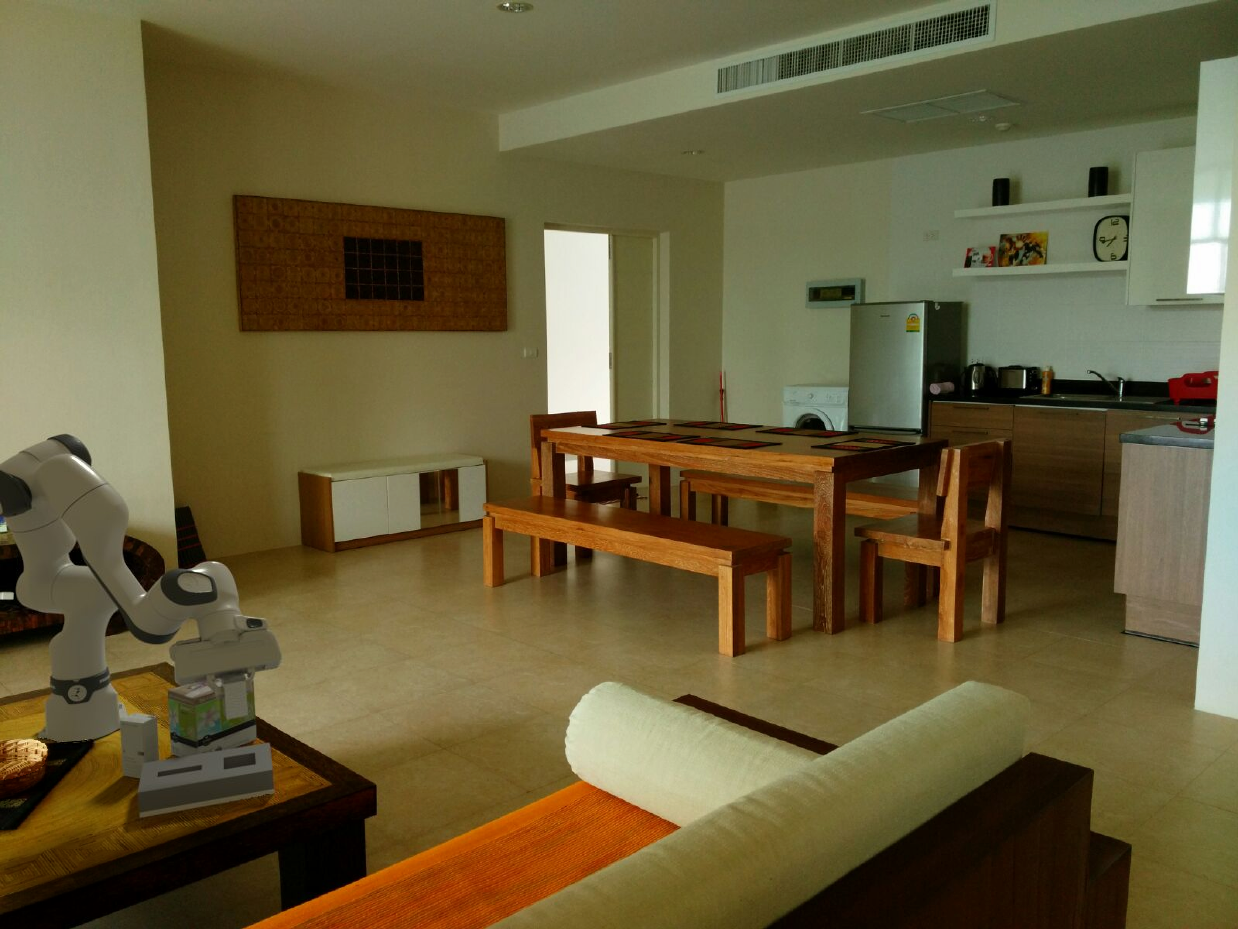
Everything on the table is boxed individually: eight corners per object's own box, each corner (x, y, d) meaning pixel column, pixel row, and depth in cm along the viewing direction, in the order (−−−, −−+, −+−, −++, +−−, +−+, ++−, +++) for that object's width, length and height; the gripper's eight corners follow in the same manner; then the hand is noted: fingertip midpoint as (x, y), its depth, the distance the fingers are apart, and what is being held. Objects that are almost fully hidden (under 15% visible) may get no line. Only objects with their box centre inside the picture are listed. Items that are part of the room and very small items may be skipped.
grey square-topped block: (223, 713, 197) (220, 674, 196) (244, 708, 199) (241, 670, 198) (226, 719, 193) (223, 680, 192) (248, 715, 195) (245, 676, 194)
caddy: (145, 786, 198) (143, 763, 197) (271, 765, 207) (269, 742, 206) (139, 817, 185) (137, 792, 185) (274, 793, 194) (272, 769, 193)
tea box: (199, 765, 208) (193, 698, 206) (170, 755, 213) (164, 689, 211) (258, 739, 220) (254, 676, 218) (230, 730, 226) (225, 668, 224)
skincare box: (122, 776, 203) (116, 720, 201) (138, 767, 207) (133, 712, 206) (146, 780, 201) (141, 723, 200) (162, 770, 205) (157, 715, 204)
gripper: (168, 635, 195) (178, 697, 188) (275, 618, 205) (288, 676, 198) (167, 650, 199) (177, 712, 192) (271, 633, 209) (285, 691, 202)
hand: (234, 694), depth 195 cm, fingers closed on grey square-topped block, 4 cm apart
